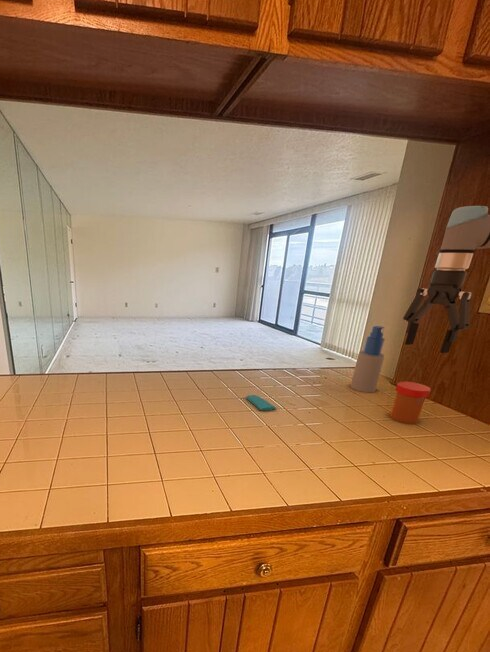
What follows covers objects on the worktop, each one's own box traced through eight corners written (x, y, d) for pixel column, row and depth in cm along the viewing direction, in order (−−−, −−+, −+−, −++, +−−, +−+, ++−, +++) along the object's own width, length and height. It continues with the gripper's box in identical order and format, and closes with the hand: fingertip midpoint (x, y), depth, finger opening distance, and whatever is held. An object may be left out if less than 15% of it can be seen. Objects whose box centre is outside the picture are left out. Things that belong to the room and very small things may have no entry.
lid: (435, 395, 108) (437, 389, 107) (416, 399, 105) (418, 392, 104) (407, 386, 116) (409, 380, 115) (389, 389, 113) (391, 383, 112)
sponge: (260, 394, 129) (246, 393, 127) (276, 407, 118) (261, 406, 117) (259, 398, 129) (245, 397, 128) (275, 411, 119) (260, 411, 117)
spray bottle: (380, 390, 138) (397, 327, 129) (364, 393, 135) (381, 329, 125) (360, 383, 146) (375, 323, 136) (345, 386, 143) (360, 325, 133)
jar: (422, 421, 112) (433, 390, 108) (406, 425, 109) (417, 392, 105) (400, 412, 119) (409, 382, 114) (384, 415, 116) (393, 384, 112)
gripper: (507, 271, 88) (475, 356, 97) (419, 268, 107) (399, 339, 116) (489, 271, 85) (458, 358, 94) (402, 268, 105) (383, 341, 113)
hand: (425, 348), depth 105 cm, fingers open, 10 cm apart
